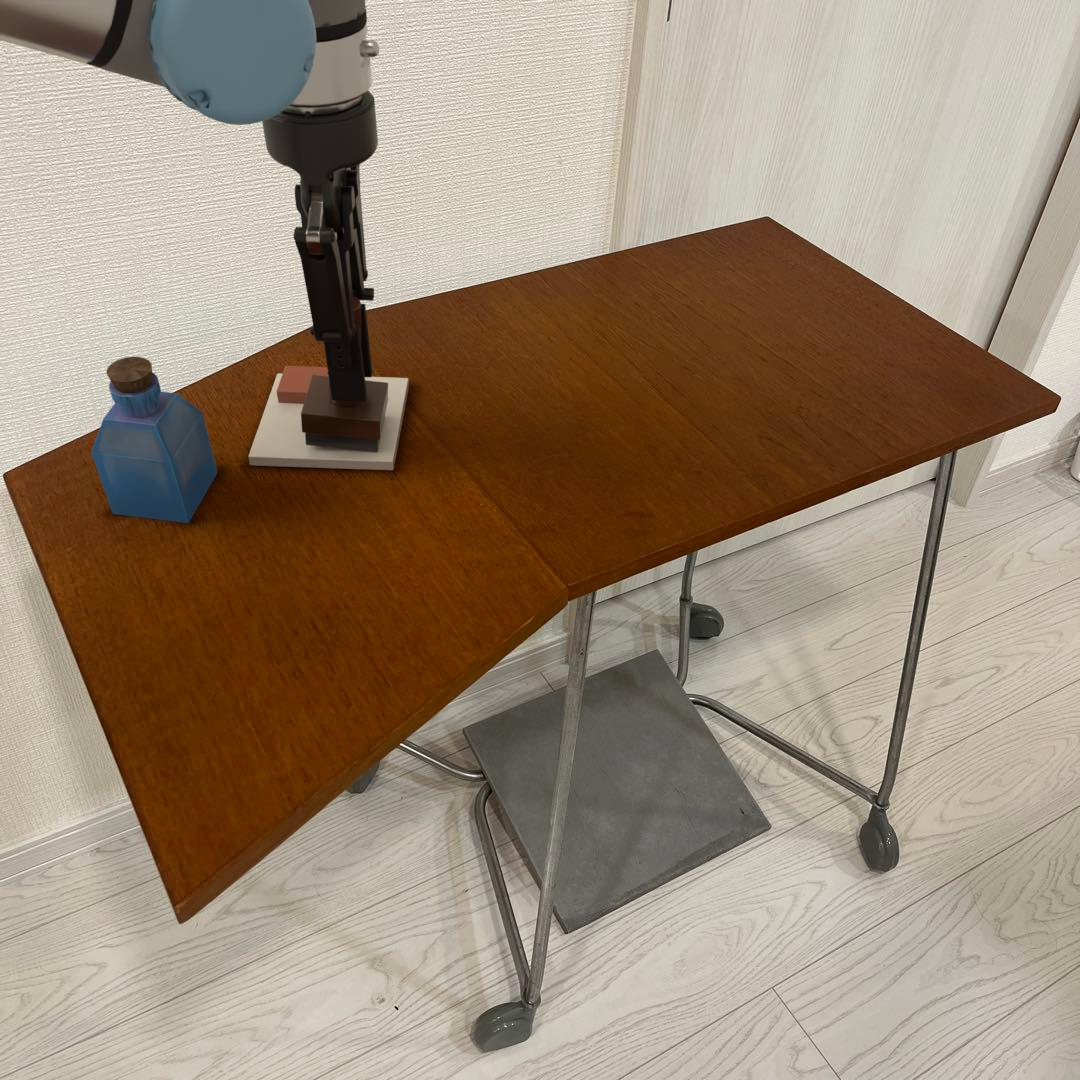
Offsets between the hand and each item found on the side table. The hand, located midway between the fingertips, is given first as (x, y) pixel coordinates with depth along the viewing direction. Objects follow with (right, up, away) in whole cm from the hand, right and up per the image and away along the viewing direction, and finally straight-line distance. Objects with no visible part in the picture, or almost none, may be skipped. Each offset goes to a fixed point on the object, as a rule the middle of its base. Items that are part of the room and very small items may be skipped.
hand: (352, 385), depth 83 cm
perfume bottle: (-15, -9, -1) cm, 17 cm away
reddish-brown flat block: (-6, +1, +8) cm, 10 cm away
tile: (-3, -2, +6) cm, 7 cm away
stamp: (-1, -3, +3) cm, 5 cm away
